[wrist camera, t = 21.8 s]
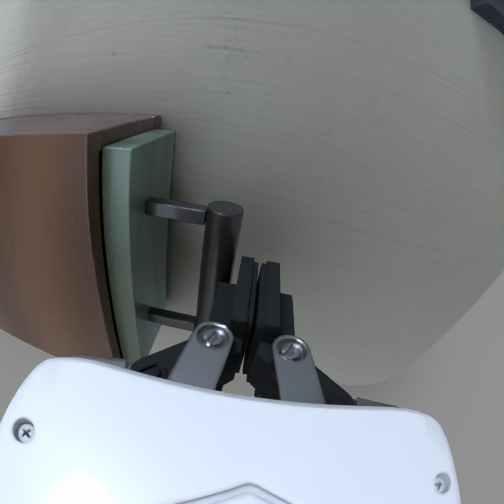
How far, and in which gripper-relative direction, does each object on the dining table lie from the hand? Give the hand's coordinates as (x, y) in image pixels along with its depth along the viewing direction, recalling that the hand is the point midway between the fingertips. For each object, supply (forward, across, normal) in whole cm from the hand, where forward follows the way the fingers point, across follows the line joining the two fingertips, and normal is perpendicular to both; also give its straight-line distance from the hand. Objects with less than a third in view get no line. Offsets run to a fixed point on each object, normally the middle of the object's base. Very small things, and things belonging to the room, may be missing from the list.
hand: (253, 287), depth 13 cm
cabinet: (+4, +13, 0) cm, 13 cm away
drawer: (+3, +9, 0) cm, 10 cm away
